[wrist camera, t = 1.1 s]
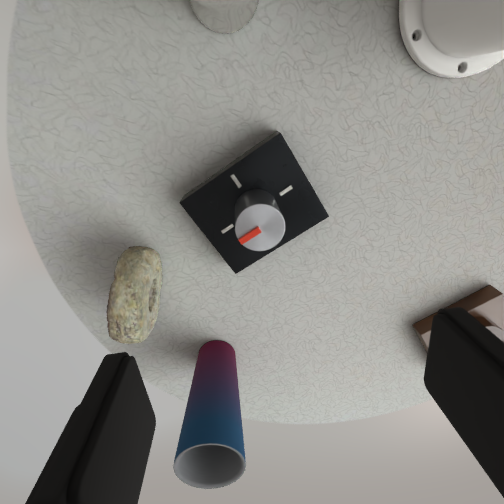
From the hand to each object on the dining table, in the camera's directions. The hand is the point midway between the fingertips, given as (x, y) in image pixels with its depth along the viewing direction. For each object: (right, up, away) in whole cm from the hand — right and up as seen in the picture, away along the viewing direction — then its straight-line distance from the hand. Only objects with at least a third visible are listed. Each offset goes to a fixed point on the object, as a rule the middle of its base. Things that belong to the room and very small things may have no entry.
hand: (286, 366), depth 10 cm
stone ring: (-13, +1, +28) cm, 31 cm away
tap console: (-1, +9, +25) cm, 26 cm away
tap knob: (-1, +8, +23) cm, 24 cm away
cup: (-6, -10, +34) cm, 36 cm away
